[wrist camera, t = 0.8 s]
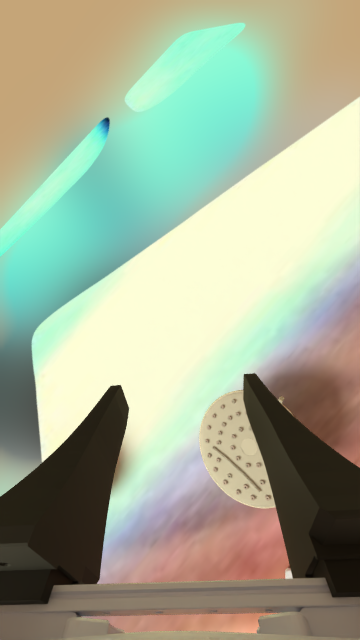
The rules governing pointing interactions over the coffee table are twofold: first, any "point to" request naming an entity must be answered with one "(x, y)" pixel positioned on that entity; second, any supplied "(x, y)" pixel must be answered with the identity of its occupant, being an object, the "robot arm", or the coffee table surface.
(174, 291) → the coffee table surface
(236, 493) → the showerhead
